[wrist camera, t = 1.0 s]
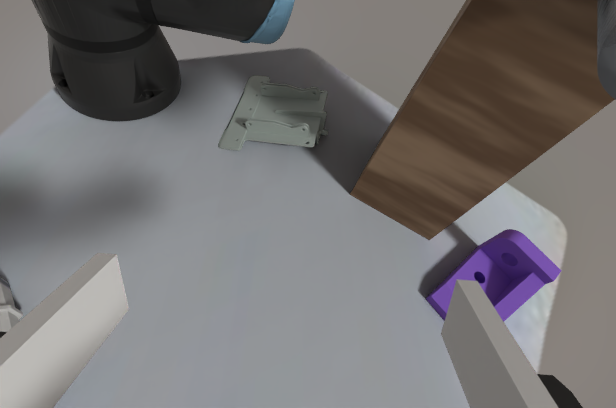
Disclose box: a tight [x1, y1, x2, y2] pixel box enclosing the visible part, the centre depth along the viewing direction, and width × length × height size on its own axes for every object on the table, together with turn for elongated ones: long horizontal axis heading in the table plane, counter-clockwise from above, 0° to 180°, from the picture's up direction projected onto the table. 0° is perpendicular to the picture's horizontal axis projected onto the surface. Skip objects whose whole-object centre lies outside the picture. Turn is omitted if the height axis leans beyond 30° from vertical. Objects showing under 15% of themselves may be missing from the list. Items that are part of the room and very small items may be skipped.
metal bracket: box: [218, 75, 328, 151], centre depth 48 cm, size 14×6×15 cm
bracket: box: [426, 229, 561, 322], centre depth 39 cm, size 12×7×7 cm, turn 129°
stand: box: [350, 0, 615, 240], centre depth 35 cm, size 14×14×30 cm
